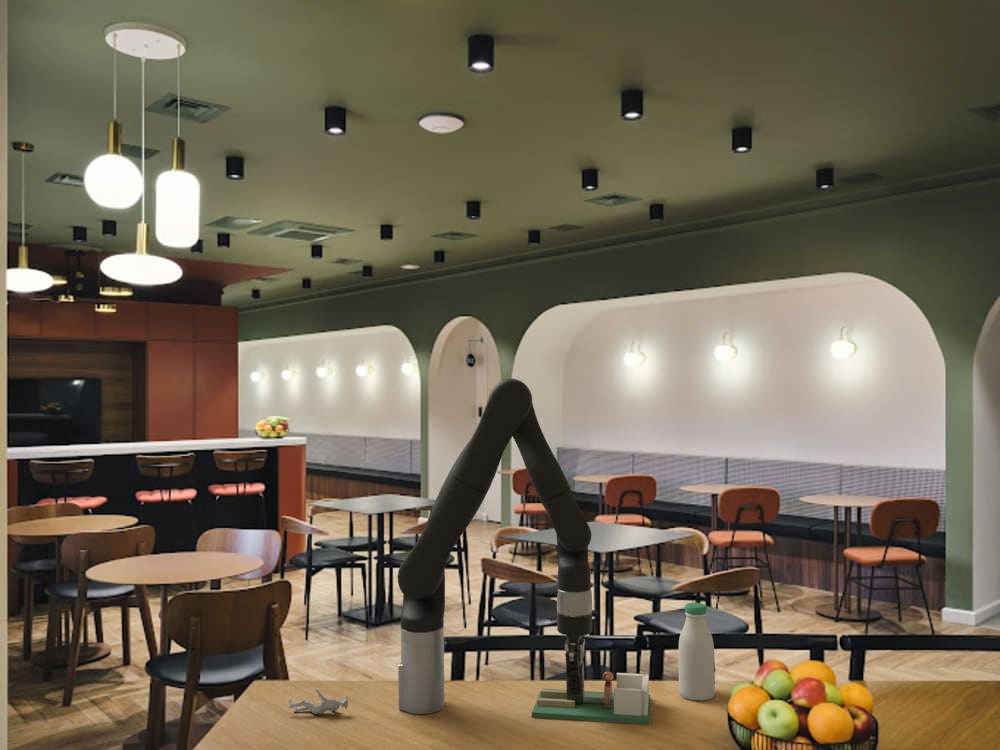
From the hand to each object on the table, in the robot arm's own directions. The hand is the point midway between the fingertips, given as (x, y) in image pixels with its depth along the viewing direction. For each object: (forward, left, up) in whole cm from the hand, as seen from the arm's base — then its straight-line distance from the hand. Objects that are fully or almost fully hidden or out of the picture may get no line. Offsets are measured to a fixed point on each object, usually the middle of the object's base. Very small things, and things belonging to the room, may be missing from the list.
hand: (575, 689), depth 187 cm
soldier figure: (-53, -12, -4) cm, 55 cm away
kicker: (+3, 0, -2) cm, 4 cm away
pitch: (+4, 0, -4) cm, 5 cm away
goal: (+12, 0, -3) cm, 12 cm away
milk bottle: (+26, +11, -4) cm, 28 cm away
